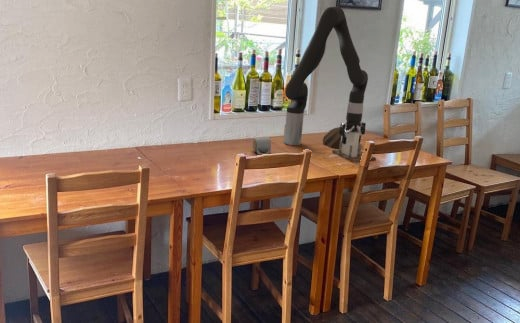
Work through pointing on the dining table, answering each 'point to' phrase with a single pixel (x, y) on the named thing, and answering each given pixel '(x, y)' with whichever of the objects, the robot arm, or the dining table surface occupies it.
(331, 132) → the decorative dome
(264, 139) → the ceramic mug
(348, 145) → the cream tile
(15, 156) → the dining table surface
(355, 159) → the dish rack
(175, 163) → the dining table surface
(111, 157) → the dining table surface
